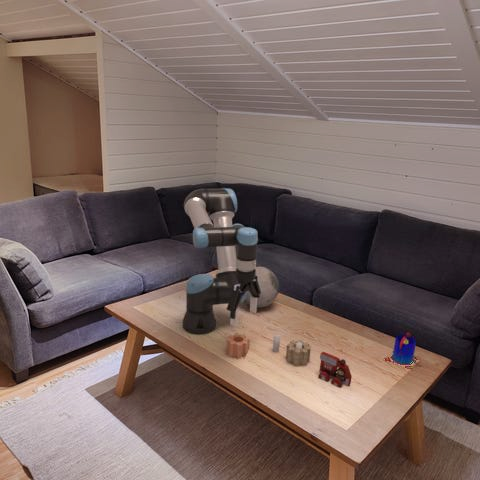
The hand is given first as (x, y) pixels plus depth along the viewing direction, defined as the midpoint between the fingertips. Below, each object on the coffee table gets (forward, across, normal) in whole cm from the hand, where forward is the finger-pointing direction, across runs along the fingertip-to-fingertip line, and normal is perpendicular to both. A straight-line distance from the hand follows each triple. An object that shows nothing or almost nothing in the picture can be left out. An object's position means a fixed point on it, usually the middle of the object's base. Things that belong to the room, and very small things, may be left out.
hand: (243, 318), depth 174 cm
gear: (+13, +6, -22) cm, 26 cm away
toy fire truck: (+15, +4, -38) cm, 41 cm away
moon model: (+16, +39, +17) cm, 46 cm away
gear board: (+15, +7, -16) cm, 23 cm away
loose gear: (+15, -2, +1) cm, 15 cm away
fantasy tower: (+15, +34, -54) cm, 66 cm away
